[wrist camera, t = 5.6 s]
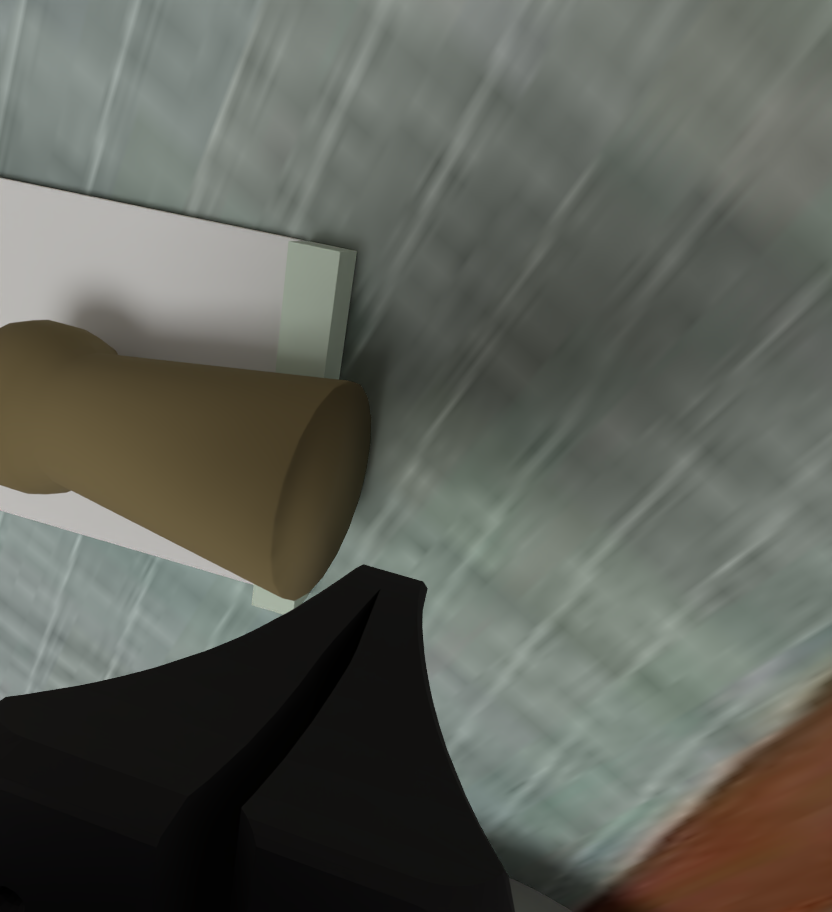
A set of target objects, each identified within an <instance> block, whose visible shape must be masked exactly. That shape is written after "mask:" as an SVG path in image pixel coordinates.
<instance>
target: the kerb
mask: <svg viewBox="0 0 832 912" xmlns="http://www.w3.org/2000/svg"><path fill="white" fill-rule="evenodd" d="M356 255H357V251H354V250H349V249H344V248H340V247H335V246H330V245H325V244H320V243H315V242H311V241H289V242H288V252H287V262H286V272H285V282H284V292H283V302H282V311H281V321H280V331H279V341H278V351H277V361H276V371H275V373H284V374H293V375H302V376H311V377H320V378H329V379H338V380H339V377H340V370H341V362H342V355H343V348H344V341H345V334H346V327H347V320H348V312H349V305H350V298H351V291H352V284H353V277H354V270H355V263H356ZM308 595H309V593H308V594H306V595H304V596H302V597H301V598H299V599H297V600H295V601H292V600H288V599H283V598H281V597H279V596H277V595H275V594H273V593H271V592H269V591H267V590H265V589H263V588H261V587H259V586H257V585H255V584H254V588H253V598H252V605H253V606H257V607H260V608H263V609H267V610H270V611H273V612H277V613H280V614H286V613H287V612H289V611H291V610H293V609H294V608H296V607H298V606H299V605H301V604H302V603H303V602H304V600H305V599H306V598H307V596H308Z"/></svg>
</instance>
